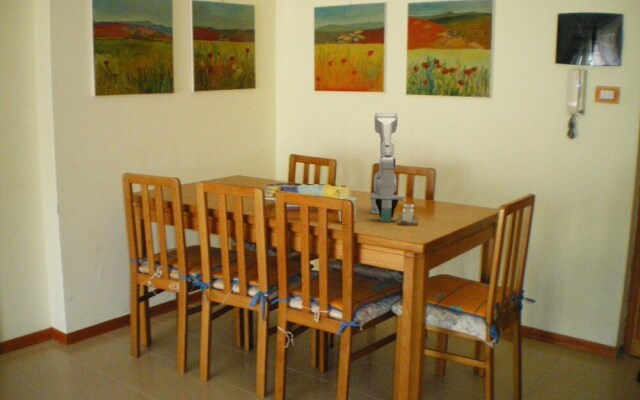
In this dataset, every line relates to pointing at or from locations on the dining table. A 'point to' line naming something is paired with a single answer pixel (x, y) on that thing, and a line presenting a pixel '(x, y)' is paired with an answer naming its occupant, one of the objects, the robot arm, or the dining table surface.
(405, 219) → the block
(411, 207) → the mounted module
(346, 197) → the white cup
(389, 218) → the block
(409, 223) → the mounting board
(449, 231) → the dining table surface
